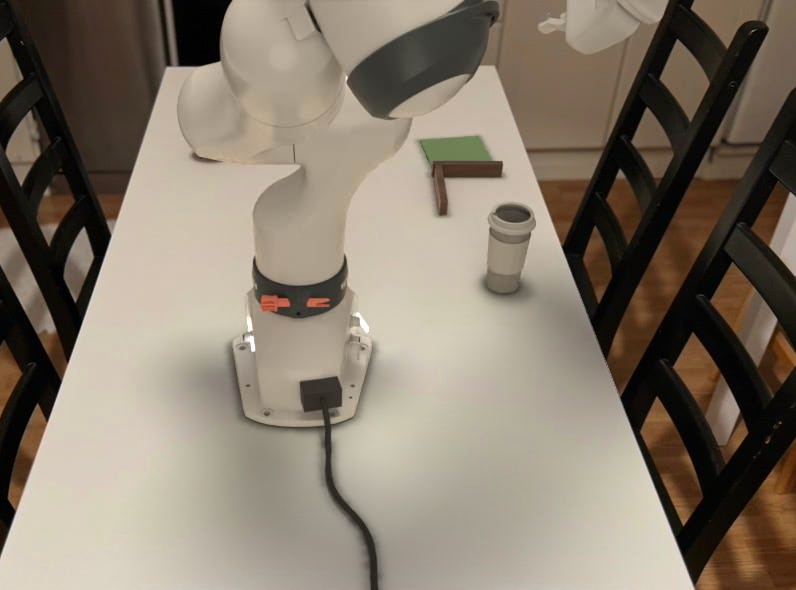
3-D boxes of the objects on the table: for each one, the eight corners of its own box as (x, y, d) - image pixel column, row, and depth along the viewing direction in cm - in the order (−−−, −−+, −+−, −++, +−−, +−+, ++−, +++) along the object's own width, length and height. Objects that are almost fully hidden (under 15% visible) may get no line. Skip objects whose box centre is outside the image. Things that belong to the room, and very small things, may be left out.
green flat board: (494, 166, 160) (494, 164, 160) (432, 170, 159) (432, 169, 159) (478, 137, 168) (478, 135, 168) (419, 141, 167) (419, 139, 167)
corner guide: (511, 215, 149) (513, 201, 147) (437, 215, 149) (438, 201, 147) (500, 173, 158) (502, 160, 157) (431, 173, 158) (432, 160, 157)
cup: (474, 271, 137) (483, 200, 129) (518, 268, 138) (529, 198, 129) (485, 299, 132) (495, 227, 124) (530, 296, 132) (543, 224, 124)
